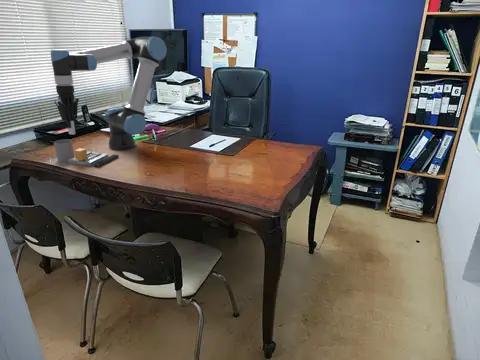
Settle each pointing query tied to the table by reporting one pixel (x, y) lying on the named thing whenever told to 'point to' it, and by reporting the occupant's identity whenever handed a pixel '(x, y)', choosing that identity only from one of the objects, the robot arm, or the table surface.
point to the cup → (64, 150)
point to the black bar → (106, 160)
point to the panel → (89, 159)
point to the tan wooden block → (80, 154)
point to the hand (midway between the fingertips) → (72, 133)
